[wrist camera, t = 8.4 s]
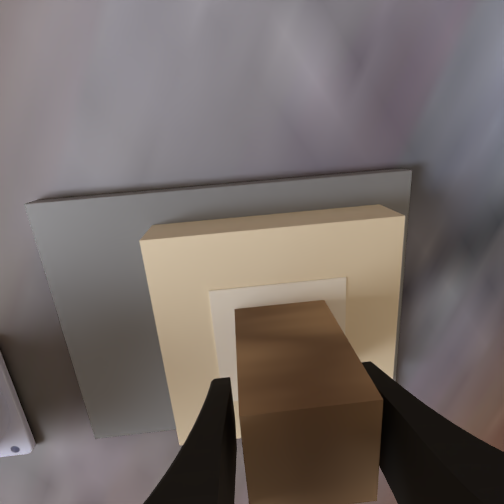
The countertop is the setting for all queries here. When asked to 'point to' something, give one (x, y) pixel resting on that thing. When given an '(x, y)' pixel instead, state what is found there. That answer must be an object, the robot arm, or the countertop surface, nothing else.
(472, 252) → the countertop surface
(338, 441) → the walnut block
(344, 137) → the countertop surface
